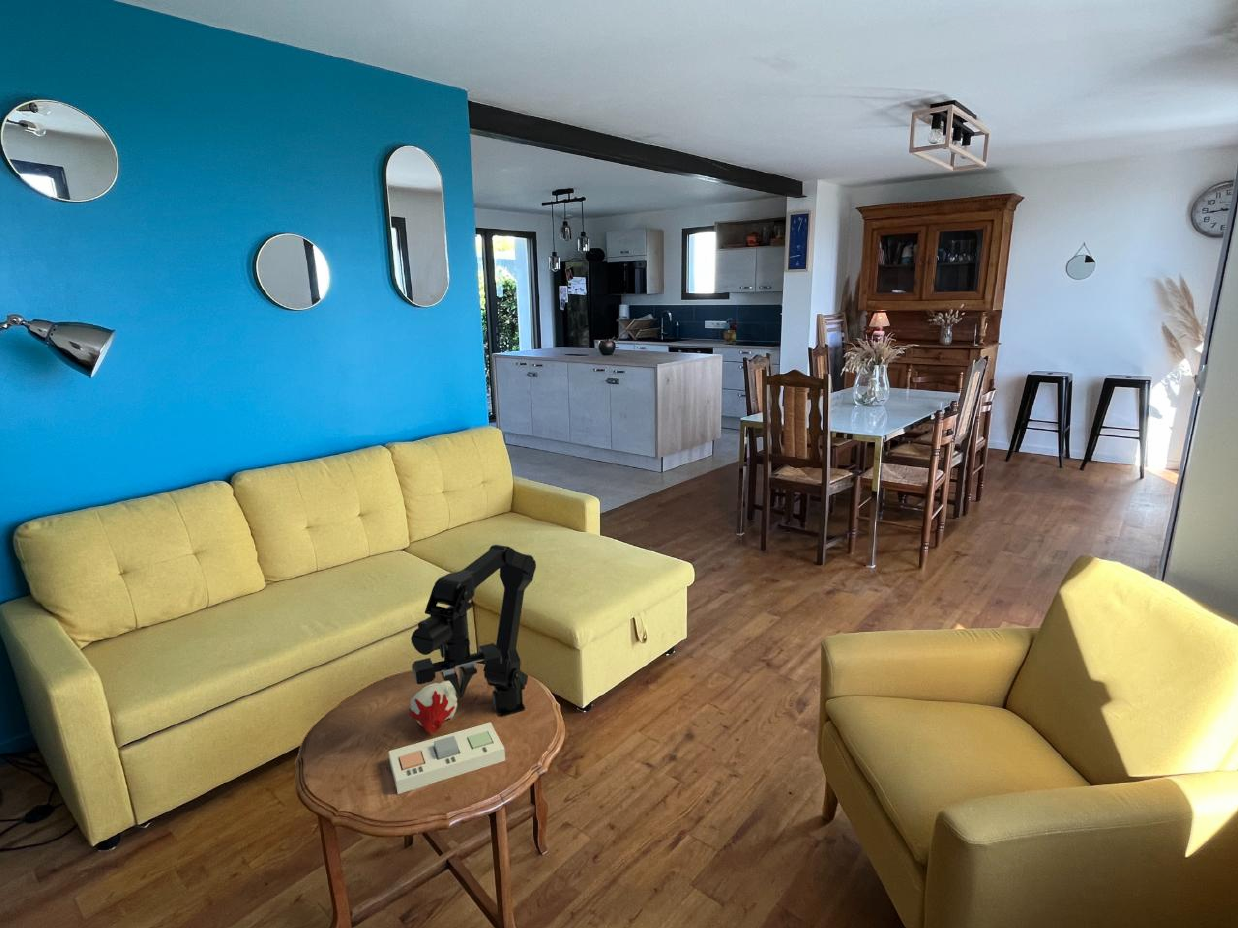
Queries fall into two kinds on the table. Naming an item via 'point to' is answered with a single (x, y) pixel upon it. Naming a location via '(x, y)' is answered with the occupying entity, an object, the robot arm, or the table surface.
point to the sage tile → (479, 740)
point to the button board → (445, 759)
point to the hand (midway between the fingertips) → (460, 697)
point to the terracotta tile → (411, 760)
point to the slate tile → (446, 747)
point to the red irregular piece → (434, 705)
